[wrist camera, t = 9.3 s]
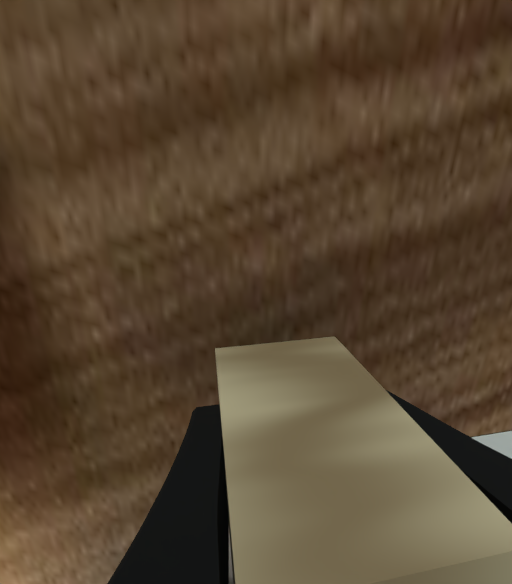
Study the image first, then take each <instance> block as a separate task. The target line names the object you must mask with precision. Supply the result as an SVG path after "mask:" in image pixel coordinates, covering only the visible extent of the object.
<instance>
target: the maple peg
mask: <svg viewBox="0 0 512 584" xmlns="http://www.w3.org/2000/svg"><path fill="white" fill-rule="evenodd" d="M215 354H216V367H217V381H218V394H219V404H220V414H221V425H222V438H223V452H224V465H225V479H226V493H227V506H228V520H229V534H230V546H231V559H232V571H233V583H234V584H512V523H511V522H510V521H509V520H508V519H507V518H506V517H505V516H504V515H503V514H502V513H501V512H500V511H499V510H498V509H497V508H496V506H495V505H494V504H493V503H492V502H491V501H490V500H489V499H488V498H487V497H486V496H485V495H484V494H483V493H482V492H481V491H480V490H479V489H478V487H477V486H476V485H475V484H474V483H473V482H472V481H471V480H470V479H469V478H468V477H467V476H466V475H465V474H464V473H463V472H462V471H461V470H460V468H459V467H458V466H457V465H456V464H455V463H454V462H453V461H452V460H451V459H450V458H449V457H448V456H447V455H446V454H445V453H444V452H443V451H442V449H441V448H440V447H439V446H438V445H437V444H436V443H435V442H434V441H433V440H432V439H431V438H430V437H429V436H428V435H427V434H426V433H425V431H424V430H423V429H422V428H421V427H420V426H419V425H418V424H417V423H416V422H415V421H414V420H413V419H412V418H411V417H410V416H409V415H408V414H407V412H406V411H405V410H404V409H403V408H402V407H401V406H400V405H399V404H398V403H397V402H396V401H395V400H394V399H393V398H392V397H391V396H390V395H389V393H388V392H387V391H386V390H385V389H384V388H383V387H382V386H381V385H380V384H379V383H378V382H377V381H376V380H375V379H374V378H373V377H372V376H371V374H370V373H369V372H368V371H367V370H366V369H365V368H364V367H363V366H362V365H361V364H360V363H359V362H358V361H357V360H356V359H355V358H354V357H353V355H352V354H351V353H350V352H349V351H348V350H347V349H346V348H345V347H344V346H343V345H342V344H341V343H340V342H339V341H338V340H337V339H336V337H325V338H315V339H305V340H295V341H285V342H276V343H266V344H256V345H246V346H236V347H226V348H216V349H215Z"/></svg>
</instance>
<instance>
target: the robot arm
mask: <svg viewBox="0 0 512 584" xmlns="http://www.w3.org/2000/svg"><path fill="white" fill-rule="evenodd" d="M386 391H387V390H386ZM387 392H388V393H389V395H390V396H391V397H392V398H393V399H394V400H395V401H396V402H397V403H398V404H399V405H400V406H401V407H402V408H403V409H404V410H405V411H406V412H407V414H408V415H409V416H410V417H411V418H412V419H413V420H414V421H415V422H416V423H417V424H418V425H419V426H420V427H421V428H422V429H423V430H424V431H425V433H426V434H427V435H428V436H429V437H430V438H431V439H432V440H433V441H434V442H435V443H436V444H437V445H438V446H439V447H440V448H441V449H442V451H443V452H444V453H445V454H446V455H447V456H448V457H449V458H450V459H451V460H452V461H453V462H454V463H455V464H456V465H457V466H458V467H459V468H460V470H461V471H462V472H463V473H464V474H465V475H466V476H467V477H468V478H469V479H470V480H471V481H472V482H473V483H474V484H475V485H476V486H477V487H478V489H479V490H480V491H481V492H482V493H483V494H484V495H485V496H486V497H487V498H488V499H489V500H490V501H491V502H492V503H493V504H494V505H495V506H496V508H497V509H498V510H499V511H500V512H501V513H502V514H503V515H504V516H505V517H506V518H507V519H508V520H509V521H510V522H511V523H512V459H511V458H509V457H507V456H505V455H503V454H502V453H500V452H498V451H496V450H494V449H492V448H490V447H488V446H486V445H484V444H482V443H480V442H478V441H476V440H474V439H473V438H471V437H469V436H467V435H465V434H463V433H461V432H460V431H458V430H456V429H454V428H452V427H451V426H449V425H447V424H445V423H443V422H442V421H440V420H438V419H436V418H435V417H433V416H431V415H429V414H428V413H426V412H424V411H422V410H421V409H419V408H417V407H415V406H414V405H412V404H410V403H408V402H407V401H405V400H403V399H401V398H399V397H398V396H396V395H394V394H392V393H390V392H389V391H387ZM108 584H229V520H228V506H227V493H226V479H225V465H224V452H223V438H222V425H221V414H220V404H219V405H211V406H203V407H197V408H196V409H195V410H194V411H193V412H192V416H191V420H190V423H189V426H188V429H187V432H186V435H185V437H184V440H183V442H182V445H181V447H180V450H179V452H178V454H177V456H176V459H175V461H174V463H173V465H172V467H171V470H170V472H169V474H168V476H167V478H166V480H165V482H164V484H163V486H162V488H161V490H160V492H159V494H158V496H157V498H156V500H155V502H154V504H153V506H152V507H151V509H150V511H149V513H148V515H147V517H146V519H145V521H144V523H143V525H142V526H141V528H140V530H139V532H138V533H137V535H136V537H135V539H134V540H133V542H132V544H131V546H130V547H129V549H128V551H127V552H126V554H125V556H124V558H123V559H122V561H121V562H120V564H119V566H118V567H117V569H116V571H115V572H114V574H113V576H112V577H111V579H110V580H109V582H108Z"/></svg>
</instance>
